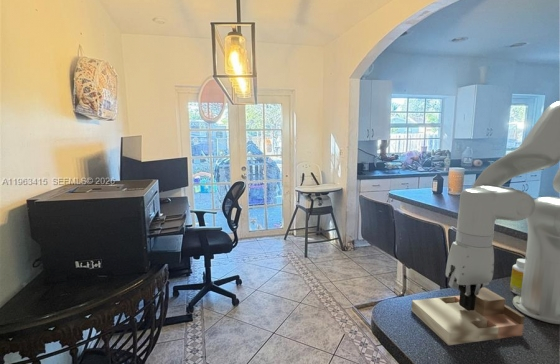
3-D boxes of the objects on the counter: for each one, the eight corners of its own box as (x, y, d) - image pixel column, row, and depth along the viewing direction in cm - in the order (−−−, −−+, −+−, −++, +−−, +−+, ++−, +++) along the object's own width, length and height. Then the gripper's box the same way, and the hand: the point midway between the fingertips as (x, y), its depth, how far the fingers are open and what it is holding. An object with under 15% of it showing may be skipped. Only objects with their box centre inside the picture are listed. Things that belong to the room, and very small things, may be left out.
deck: (474, 303, 84) (476, 287, 84) (522, 335, 71) (524, 316, 70) (411, 310, 81) (412, 293, 80) (448, 345, 67) (450, 325, 67)
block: (483, 301, 80) (484, 287, 80) (503, 313, 74) (505, 299, 74) (464, 303, 79) (465, 289, 79) (483, 316, 73) (484, 301, 73)
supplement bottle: (529, 299, 87) (533, 266, 85) (506, 291, 91) (510, 260, 90) (535, 294, 90) (540, 262, 88) (513, 286, 94) (517, 256, 93)
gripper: (486, 232, 78) (479, 297, 80) (436, 235, 75) (430, 302, 78) (513, 242, 70) (504, 313, 73) (458, 245, 68) (451, 319, 71)
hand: (466, 307), depth 75 cm, fingers closed
